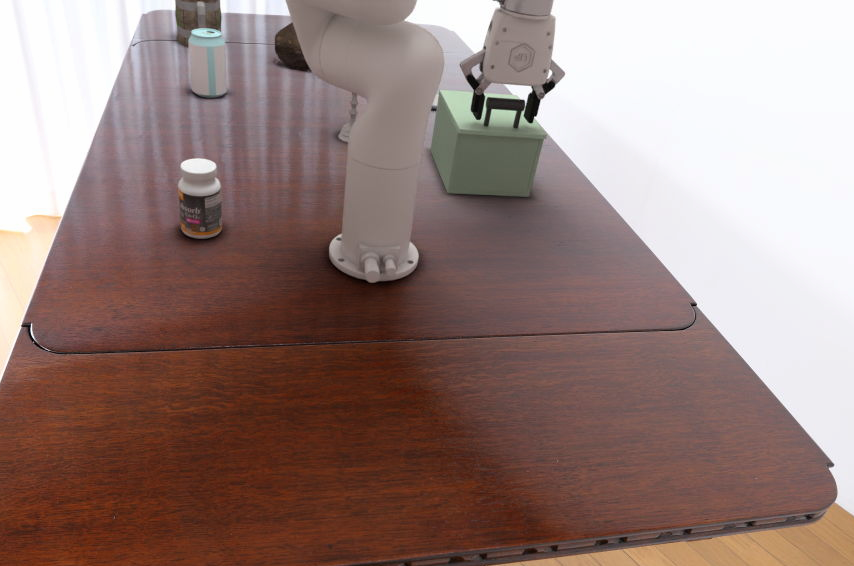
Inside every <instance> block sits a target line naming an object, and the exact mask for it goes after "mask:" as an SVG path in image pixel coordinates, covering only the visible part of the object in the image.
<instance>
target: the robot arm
mask: <svg viewBox="0 0 854 566" xmlns="http://www.w3.org/2000/svg"><path fill="white" fill-rule="evenodd" d="M492 1H493V2H497V3H499V6H497V7H495V9H494V12H493V14H492V17H491V19H490V22H489V25H488V27H487V32H486V34H485V37H484V42H483V45H482V49H481V50H479V51H477V52H475V53H473V54H472V55H470V56H469V57H467V58H465V59H463V60H462V61H460V63H459V67H460V69H461V72H462V74H463V76H464V78H465V80H466V82H467V84H468V85H469V86H470V87H471V88H472V90H473V91H472V92H473V97H472V103H471V112H472V113H473V115H474V117H475V118H476V120H480V119H481V117H482V112H483V107H484V102H485V95H484V93H485V91H486V90H487V89H488V88H489V87H490V85H491V84H500V85H510V86H511V85H512V86H525V87H530V88H531V92H529V93H528V94H527V97H526V98H527V99H526V102H525V106H526V107H525V111H524V118H525V119H526V120H527V122H528V123H533V120H534V118H536V117H538V114H539V108H540V105H541V101H542V100H543V99H545V97H546V95H547V94H549V93H550V92H551V91H552V90H554V89H555V88H556V85H557V84H559V83H560V82H561V81H562V79H563V78H564V77H565V76H566V72H565V71H564V69H562V68H561V66H559V65H558V64H557V63H556V62H555V61H554V60H553V59H552V57H553V52H554V44H555V35H556V19H557V18H556V16H555V15H553V14H552V10H553V6H554V2H555V0H492ZM417 2H418V0H285V3H286V7H287V10H288V13H289V16H290V19H291V23H292V22H293V25H294V28H295V31H296V34H297V37H298V41H299V44H300V47H301V50H302V52H303V55H304V58H305V60H306V62H307V64H308V66H309V68H310V69H309V70H310V71H311V72H312V73H313V74H314V76H315V77H317V78H318V79H319V80H321V81H322V82H325V83H326V84H329V85H332V86H334V87H337V88H339V89H342V90H345V91H347V92H349V93H351V94H352V93H355V94H357V96H359V97H361V98H363V99H365V100H366V103H367V104H366V107H365V109H364V110H363V111H362V112H361V114H360V115H359V116H358V117H357V118H356V119H355V122H354V124H353V126H352V128H351V130H350V134H349V139H348V142H347V155H346V170H345V182H344V183H345V184H344V198H343V207H342V208H343V210H342V223H341V224H342V225H341V233H340V234H338V235H336V236H335V237H334V238H332V240H331V241H330V242H329V247H328V257H329V260H330V262H331V263H332V265H333V266H335V267H336V268H337V270H339V271H341V272H342V273H344V274H346V275H348V276H351V277H352V278H355V279H359V280H364V281H367V282H368V283H371V284H374V283H377V282H388V281H389V282H390V281H395V280H399V279H403V278H404V277H407V276H409V275H410V274H411V273H413V272H414V271H415V269H416V268H417V267H418V263H419V258H420V257H419V256H420V255H419V251H418V249H417V247H416V246H415V244H414V243H413V242H411V236H412V235H411V234H412V231H413V223H414V215H415V208H416V201H417V195H418V188H419V181H420V173H421V168H422V167H421V166H422V162H423V161H422V159H423V152H424V145H425V140H426V133H427V129H428V124H429V119H430V116H431V111H432V109H431V108H432V105H433V102H434V99H435V96H436V94H438V90H439V87H440V85H441V82H442V79H443V73H444V68H445V54H444V49H443V47H442V45H441V44H440V42H439V40H438V39H437V38H436V37H435V36H434V35H433V34H432V32H430V31H429V30H428V29H426V28H424V27H422V26H420V25H418V24H416V23H413V22H410V21H407V20H406V19H407V18H409V16H410V15H412V13H413V12H414V10H415V8H416V6H417ZM475 66H478V69H479V71H480V73H479V75H478V77H475V76H474V74H473V71H472V69H473V68H474V67H475ZM550 71H551V75H549V73H550Z"/></svg>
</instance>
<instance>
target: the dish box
mask: <svg viewBox="0 0 854 566" xmlns="http://www.w3.org/2000/svg"><path fill="white" fill-rule="evenodd" d="M435 110H436V111H435V116H434V122H433V123H434V125H433V131H432V137H431V144H430V150H429V151H430V153H431V156H432V159H433V161H434V164H435V166H436V168H437V170H438V172H439V176H440V178H441V182H442V183H443V186H444V188H445V191H446V194H457V195H478V196H479V195H480V196H499V197H519V198H520V197H522V198H529V197H530V196H531V192H532V188H533V184H534V180H535V176H536V172H537V167H538V165H539V160H540V156H541V153H542V148H543V145H544V141H545V139H537V138H521V137H505V136H488V135H472V134H459V132H458V130H457V128H456V126H455V125H454V123H453V121H452V119H451V117H450V115H449V113H448V111H447V109H446V107H445V105H444V103H443V101H442V99H441V97H440V95H439V97H438V104H437V109H435Z"/></svg>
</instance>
